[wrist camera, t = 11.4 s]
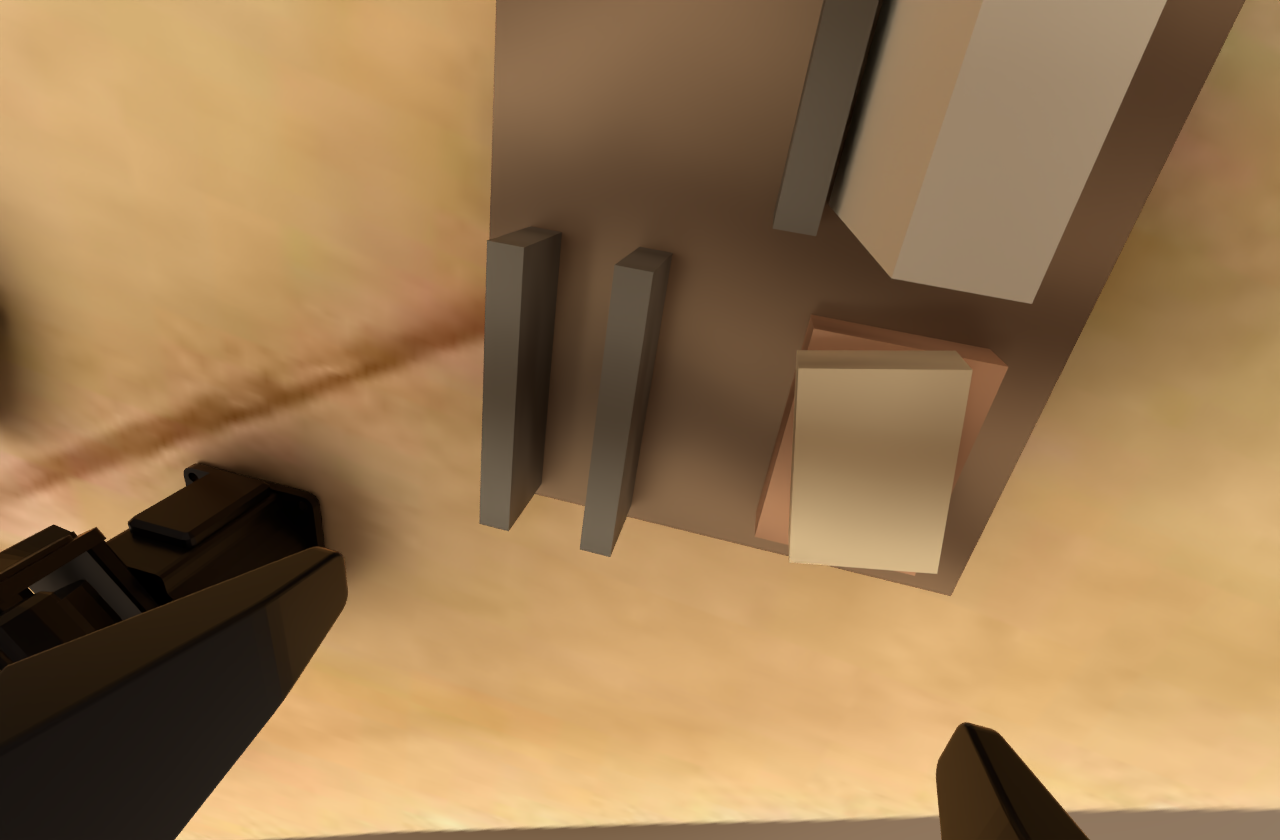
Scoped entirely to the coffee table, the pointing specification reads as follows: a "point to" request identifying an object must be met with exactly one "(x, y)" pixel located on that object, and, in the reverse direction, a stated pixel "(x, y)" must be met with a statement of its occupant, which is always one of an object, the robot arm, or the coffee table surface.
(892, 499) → the birch offcut
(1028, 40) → the off-white sheet
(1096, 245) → the walnut rack
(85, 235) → the coffee table surface
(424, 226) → the coffee table surface
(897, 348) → the cedar offcut
